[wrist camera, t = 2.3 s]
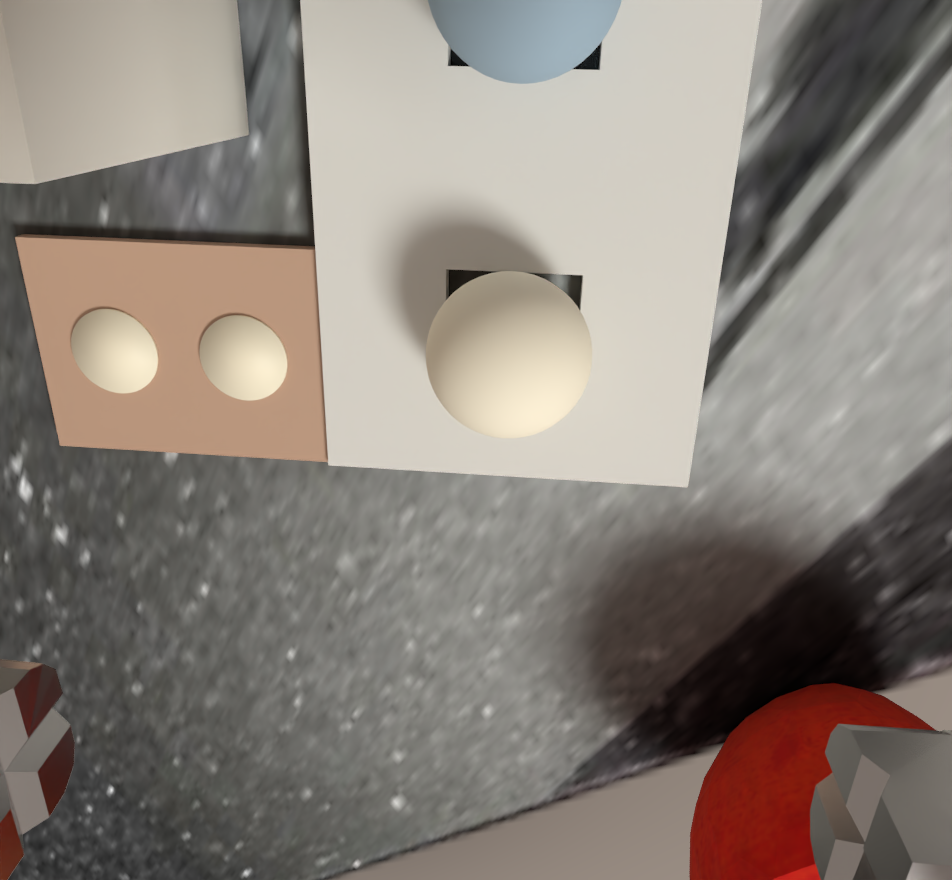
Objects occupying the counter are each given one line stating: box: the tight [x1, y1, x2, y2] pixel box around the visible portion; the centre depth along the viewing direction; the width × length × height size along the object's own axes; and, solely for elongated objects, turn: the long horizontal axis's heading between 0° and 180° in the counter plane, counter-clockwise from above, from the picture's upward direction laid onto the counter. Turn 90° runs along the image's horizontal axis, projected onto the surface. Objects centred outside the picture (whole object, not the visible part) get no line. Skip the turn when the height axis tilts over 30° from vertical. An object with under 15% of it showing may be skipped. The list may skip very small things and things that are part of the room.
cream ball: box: [426, 271, 592, 438], centre depth 19 cm, size 4×4×4 cm
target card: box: [15, 234, 328, 462], centre depth 22 cm, size 8×6×1 cm
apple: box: [690, 683, 935, 880], centre depth 23 cm, size 9×9×8 cm
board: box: [300, 0, 762, 487], centre depth 19 cm, size 16×10×1 cm, turn 179°
